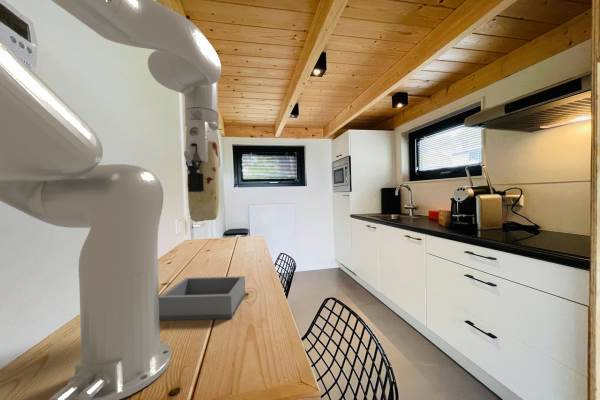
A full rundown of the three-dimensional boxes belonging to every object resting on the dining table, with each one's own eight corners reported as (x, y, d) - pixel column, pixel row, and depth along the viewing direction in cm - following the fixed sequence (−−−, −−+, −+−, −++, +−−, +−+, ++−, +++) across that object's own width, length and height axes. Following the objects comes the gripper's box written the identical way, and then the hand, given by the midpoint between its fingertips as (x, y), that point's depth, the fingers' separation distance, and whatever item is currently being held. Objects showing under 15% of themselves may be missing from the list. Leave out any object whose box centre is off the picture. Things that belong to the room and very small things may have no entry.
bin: (231, 318, 52) (231, 295, 52) (158, 320, 52) (157, 297, 52) (245, 294, 65) (244, 276, 65) (186, 295, 65) (186, 277, 65)
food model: (226, 220, 57) (224, 137, 57) (198, 223, 52) (196, 132, 52) (209, 218, 64) (207, 144, 64) (183, 221, 59) (180, 140, 59)
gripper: (203, 107, 49) (205, 190, 49) (228, 130, 67) (229, 192, 67) (167, 107, 49) (169, 191, 49) (201, 131, 67) (203, 193, 67)
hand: (204, 191), depth 58 cm, fingers closed on food model, 8 cm apart
